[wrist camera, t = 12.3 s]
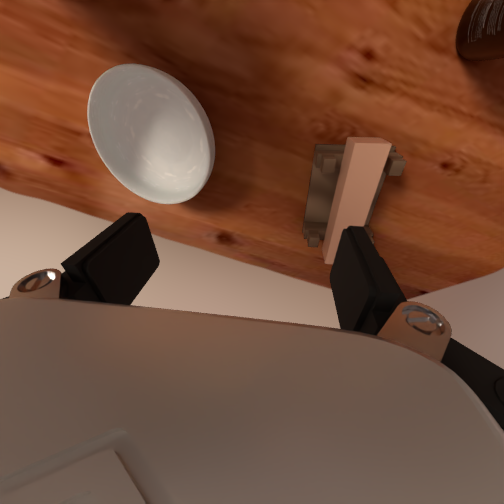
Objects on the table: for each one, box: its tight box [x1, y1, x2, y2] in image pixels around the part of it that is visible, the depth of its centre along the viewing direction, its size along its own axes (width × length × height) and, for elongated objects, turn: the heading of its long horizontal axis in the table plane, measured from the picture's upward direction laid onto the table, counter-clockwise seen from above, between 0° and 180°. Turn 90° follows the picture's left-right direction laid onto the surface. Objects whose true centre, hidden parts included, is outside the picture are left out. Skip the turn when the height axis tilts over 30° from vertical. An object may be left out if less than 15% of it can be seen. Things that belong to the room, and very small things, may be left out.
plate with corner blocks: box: [302, 144, 406, 247], centre depth 34 cm, size 15×11×6 cm
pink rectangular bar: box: [322, 137, 392, 264], centre depth 32 cm, size 18×4×4 cm, turn 0°
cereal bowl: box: [88, 63, 215, 204], centre depth 32 cm, size 17×17×7 cm
